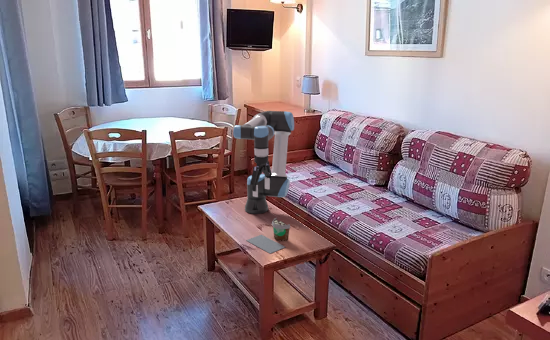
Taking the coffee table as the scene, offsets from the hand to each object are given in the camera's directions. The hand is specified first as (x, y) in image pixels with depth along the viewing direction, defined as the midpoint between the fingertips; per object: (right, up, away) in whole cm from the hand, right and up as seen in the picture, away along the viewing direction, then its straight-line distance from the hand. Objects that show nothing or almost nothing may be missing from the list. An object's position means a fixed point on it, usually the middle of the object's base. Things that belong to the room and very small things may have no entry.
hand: (261, 192), depth 238 cm
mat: (+2, -28, -3) cm, 28 cm away
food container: (+9, -26, +4) cm, 28 cm away
